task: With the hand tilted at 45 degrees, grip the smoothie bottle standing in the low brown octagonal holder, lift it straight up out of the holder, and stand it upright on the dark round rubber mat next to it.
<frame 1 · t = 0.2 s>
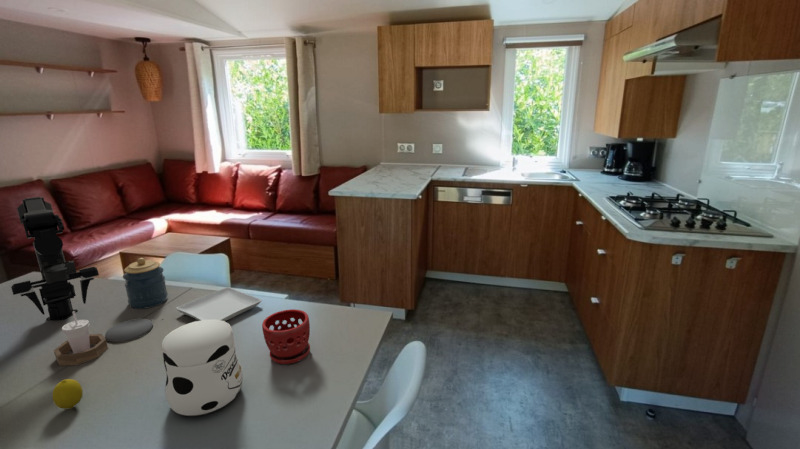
hand: (64, 308, 115), 15 cm above the table, tool tilted 15°, fingers open, 9 cm apart
milk container: (208, 398, 101), on the table
salad plate: (220, 312, 146), on the table
rubber mat: (129, 331, 132), on the table
lemon: (71, 408, 98), on the table
plant pot: (289, 355, 119), on the table
smoothie: (82, 354, 120), resting in brown octagonal holder
canister: (149, 301, 153), on the table
brown octagonal holder: (82, 353, 120), on the table
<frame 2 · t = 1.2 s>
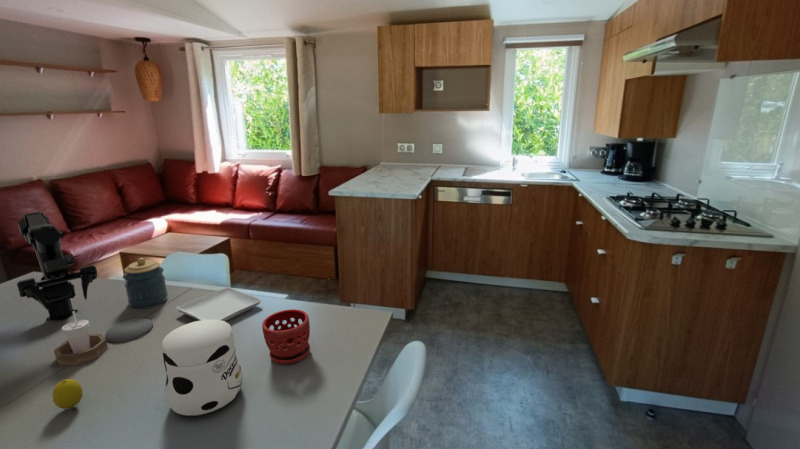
hand: (67, 303, 122), 14 cm above the table, tool tilted 45°, fingers open, 9 cm apart
nothing on the table moved.
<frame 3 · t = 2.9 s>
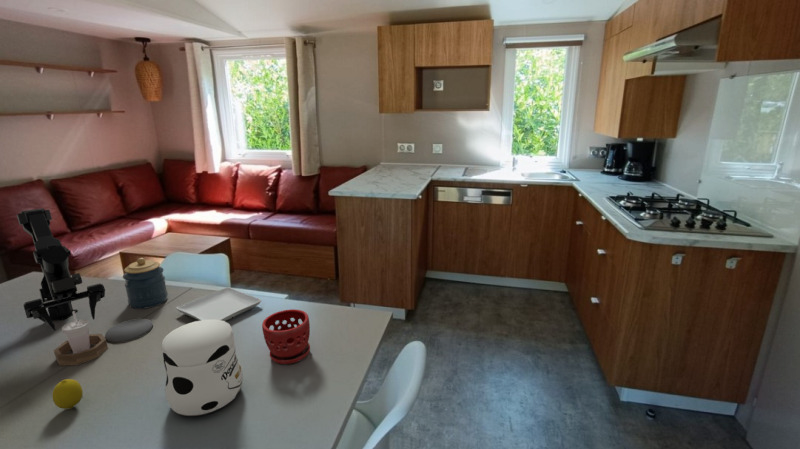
hand: (74, 324, 118), 9 cm above the table, tool tilted 45°, fingers open, 9 cm apart
nothing on the table moved.
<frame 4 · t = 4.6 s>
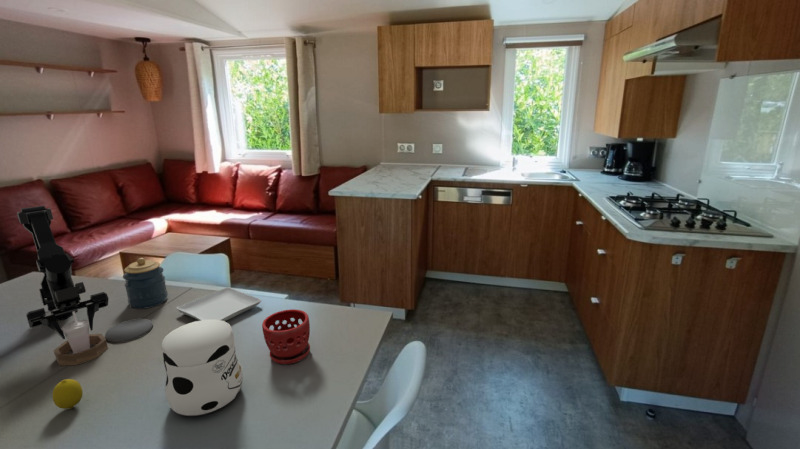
hand: (78, 334, 117), 7 cm above the table, tool tilted 45°, fingers closed on smoothie, 6 cm apart
smoothie: (82, 354, 120), resting in brown octagonal holder, touching gripper
everything else where it was.
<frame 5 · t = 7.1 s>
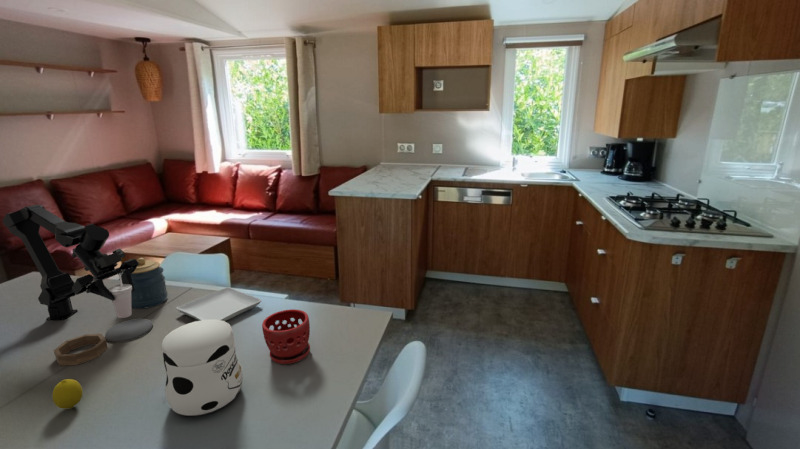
hand: (124, 295, 128), 13 cm above the table, tool tilted 45°, fingers closed on smoothie, 6 cm apart
smoothie: (124, 316, 130), point 6 cm above the table, touching gripper
everything else where it was.
when the fingers open (9 cm above the table, at t = 8.9 s): smoothie stays where it is, resting on rubber mat.
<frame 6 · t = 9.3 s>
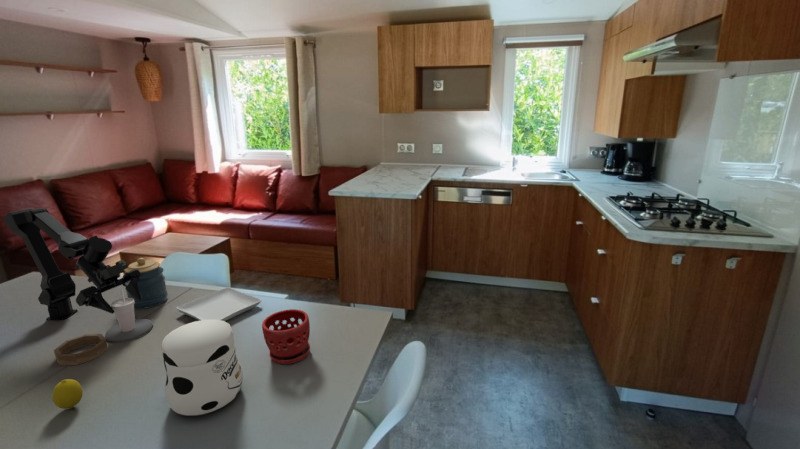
hand: (127, 306, 129), 9 cm above the table, tool tilted 45°, fingers open, 9 cm apart
smoothie: (128, 329, 132), point 1 cm above the table, touching rubber mat
everything else where it was.
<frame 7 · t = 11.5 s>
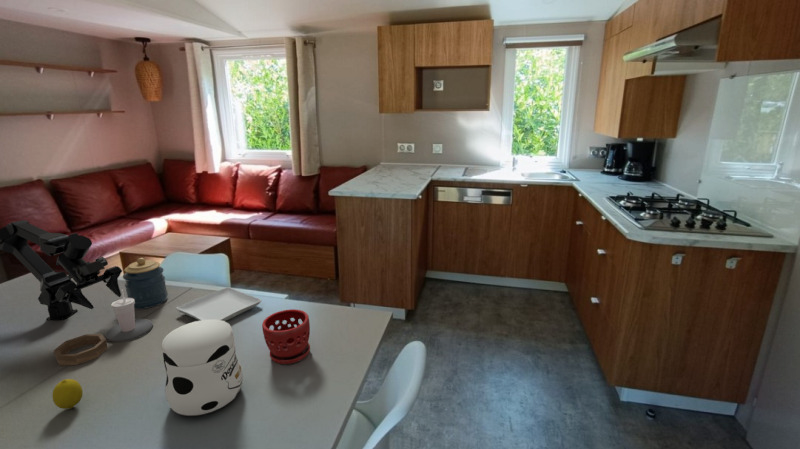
hand: (107, 302, 132), 9 cm above the table, tool tilted 45°, fingers open, 9 cm apart
nothing on the table moved.
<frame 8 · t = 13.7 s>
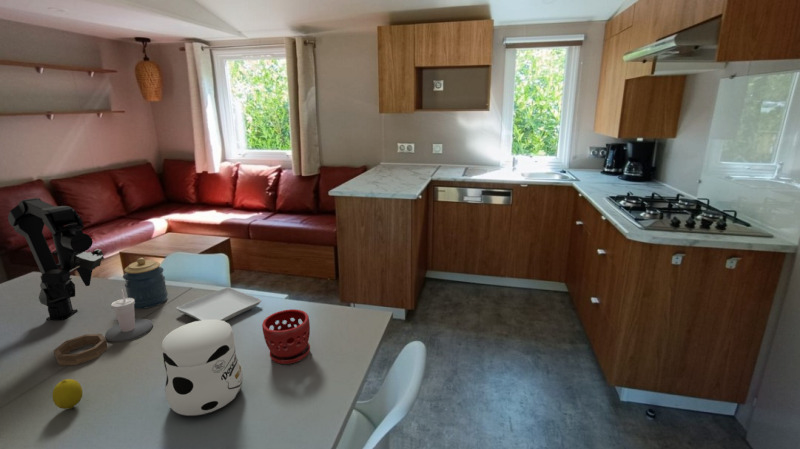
hand: (78, 291, 131), 13 cm above the table, tool pointing down, fingers open, 9 cm apart
nothing on the table moved.
at the end: smoothie inside the target area on the rubber mat (0.3 cm from its centre), point 0.8 cm above the rubber mat's base; smoothie tilted 0°; the gripper is holding nothing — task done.
